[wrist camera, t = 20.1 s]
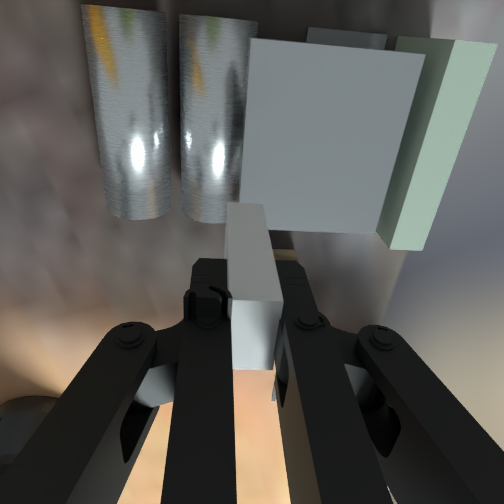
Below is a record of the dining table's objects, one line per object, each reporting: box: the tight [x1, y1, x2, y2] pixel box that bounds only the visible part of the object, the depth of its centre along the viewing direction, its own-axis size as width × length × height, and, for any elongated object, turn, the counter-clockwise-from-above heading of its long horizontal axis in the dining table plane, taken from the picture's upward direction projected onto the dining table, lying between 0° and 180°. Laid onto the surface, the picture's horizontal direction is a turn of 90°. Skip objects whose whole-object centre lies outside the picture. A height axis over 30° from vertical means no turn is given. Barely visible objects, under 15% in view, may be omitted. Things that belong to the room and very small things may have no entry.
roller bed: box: [81, 4, 258, 223], centre depth 33 cm, size 13×16×6 cm
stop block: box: [376, 36, 497, 251], centre depth 33 cm, size 3×16×10 cm, turn 175°
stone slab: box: [238, 37, 426, 234], centre depth 30 cm, size 12×14×2 cm
